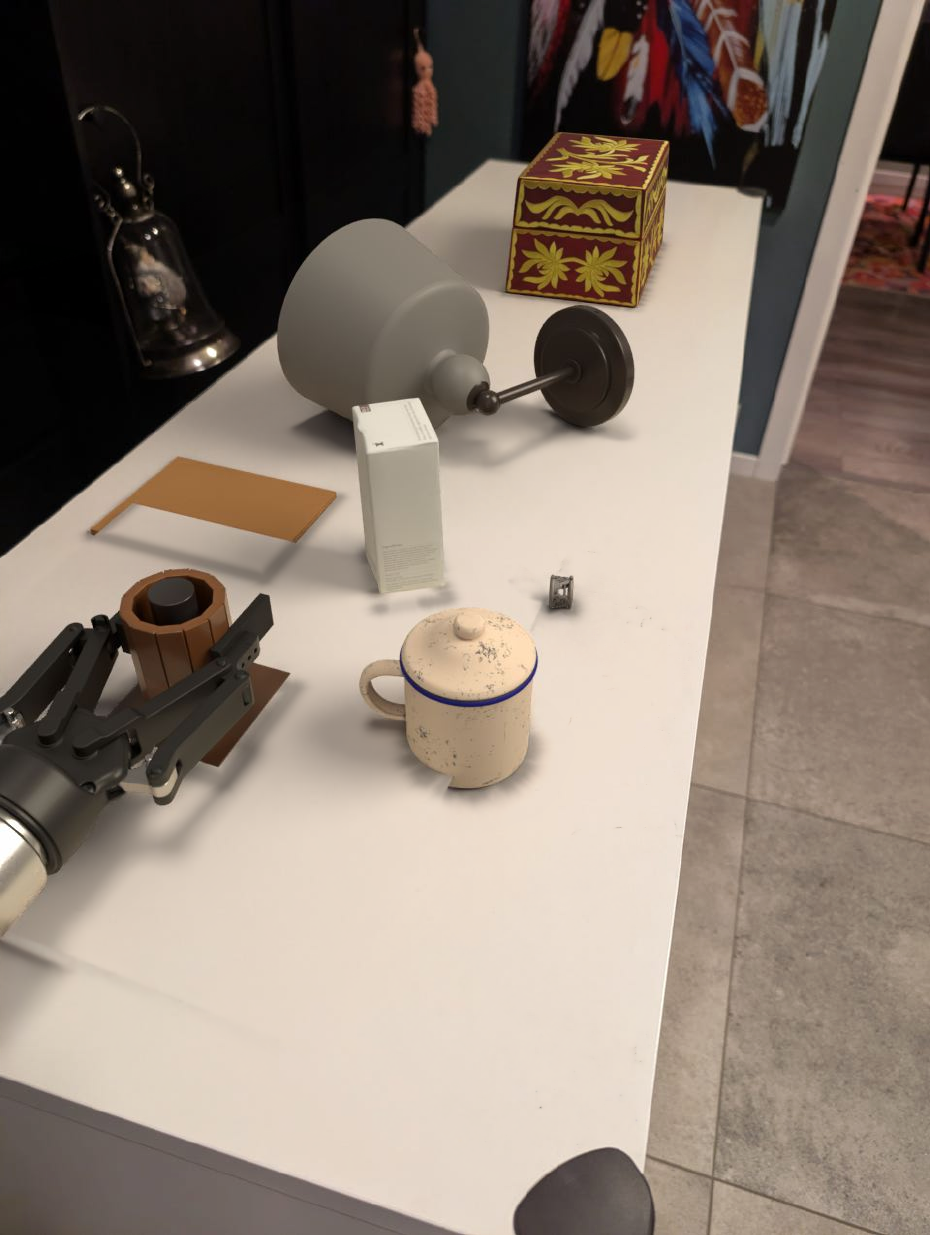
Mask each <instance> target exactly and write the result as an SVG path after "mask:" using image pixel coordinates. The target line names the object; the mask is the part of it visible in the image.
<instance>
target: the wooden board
mask: <svg viewBox="0 0 930 1235" xmlns="http://www.w3.org/2000/svg"><path fill="white" fill-rule="evenodd" d="M336 498H337V492H336V491H333V490H329V489H324V488H320V487H316V486H311V485H308V484H303V483H300V482H299V483H298V482H294V481H289V480H286V479H280V478H276V477H273V476H268V475H262V474H259V473H253V472H250V471H245V470H240V469H236V468H231V467H227V466H222V465H219V464H213V463H209V462H204V461H200V460H197V459H192V458H187V457H183V456H176V457H175V458H174V459H173V460H172V461H170V462H169V463H168V464H167V465H166V466H164V467H163V468H162V469H160V470H159V471H158V472H157V473H156V474H154V476H152V477H151V478H150V479H149V480H147V481H146V482H145V483H144V484H143V485H142V486H140V487H139V488H138V489H137V490H136V491H134V492H133V493H132V494H131V495H129V496H128V497H127V498H125V500H123V501H122V502H121V503H120V504H118V505H117V506H116V507H115V508H114V509H112V510H111V511H110V512H109V513H108V514H106V515H105V516H104V517H103V518H101V519H100V520H98V522H97V523H95V524H94V525H92V527H90V529H89V530H90V533H91V535H94V536H95V535H97V534H98V533H99V532H100V531H102V530H103V529H104V528H105V527H106V526H108V525H109V524H110V523H111V522H112V521H113V520H115V519H116V518H117V517H118V516H120V515H121V514H122V513H123V512H125V510H127V509H128V508H129V507H130V506H132V505H133V504H135V505H138V506H139V505H140V506H143V507H147V508H151V509H154V510H158V511H159V510H160V511H163V512H168V513H171V514H176V515H179V516H184V517H189V518H192V519H197V520H201V521H204V522H208V523H213V524H217V525H221V526H225V527H228V528H234V529H236V530H237V529H238V530H241V531H245V532H250V533H254V534H259V535H262V536H266V537H270V538H274V539H278V540H283V541H286V542H291V543H296V542H297V541H298V540H299V539H300V538H301V537H302V536H303V535H304V534H305V532H307V530H308V529H309V528H310V527H311V526H312V525H313V524H314V523H315V522H316V520H317V519H318V518H319V517H320V516H321V515H322V514H323V513H324V511H325V510H326V509H327V508H328V507H329V506H330V504H331V503H332V502H334V501H335V499H336Z"/></svg>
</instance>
